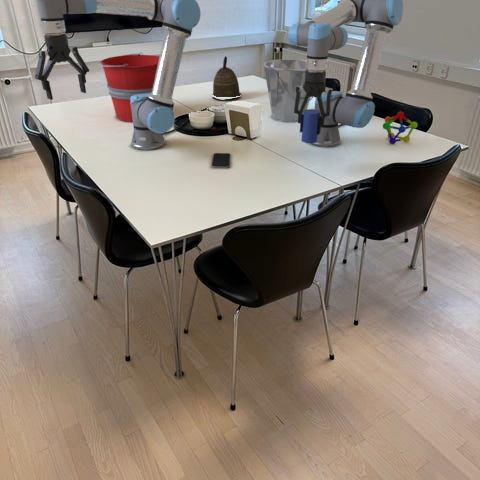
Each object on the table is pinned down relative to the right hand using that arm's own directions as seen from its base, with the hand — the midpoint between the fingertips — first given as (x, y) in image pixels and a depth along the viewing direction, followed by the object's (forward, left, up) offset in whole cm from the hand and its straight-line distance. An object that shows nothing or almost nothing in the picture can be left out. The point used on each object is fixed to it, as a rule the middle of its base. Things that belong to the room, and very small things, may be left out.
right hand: (309, 132), depth 173 cm
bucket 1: (-3, -114, -16) cm, 115 cm away
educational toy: (-57, +13, -16) cm, 60 cm away
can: (0, 0, -3) cm, 3 cm away
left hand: (+60, -70, +13) cm, 93 cm away
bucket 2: (-57, -50, -16) cm, 77 cm away
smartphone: (+16, -33, -16) cm, 40 cm away
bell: (-65, -105, -16) cm, 124 cm away
